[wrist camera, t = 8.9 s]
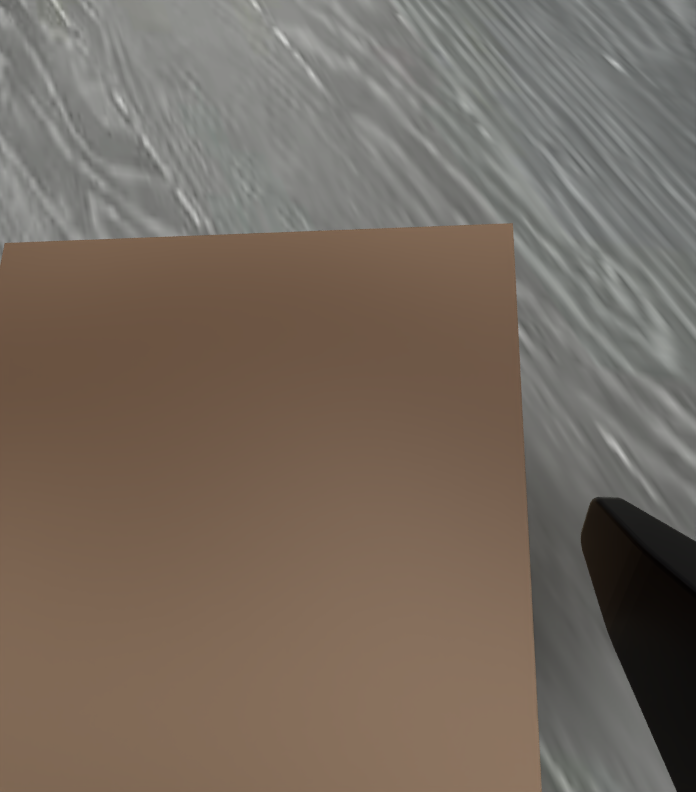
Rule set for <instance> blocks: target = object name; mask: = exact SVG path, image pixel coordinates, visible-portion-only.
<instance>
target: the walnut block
mask: <svg viewBox="0 0 696 792" xmlns="http://www.w3.org/2000/svg"><path fill="white" fill-rule="evenodd" d="M0 792H542V789H541V769H540V750H539V730H538V710H537V691H536V671H535V652H534V632H533V612H532V593H531V573H530V553H529V534H528V514H527V494H526V475H525V455H524V436H523V416H522V396H521V377H520V357H519V337H518V318H517V298H516V278H515V259H514V239H513V223H510V224H485V225H459V226H433V227H408V228H382V229H356V230H330V231H305V232H279V233H253V234H228V235H202V236H176V237H150V238H125V239H99V240H73V241H47V242H22V243H5V245H4V250H3V255H2V260H1V265H0Z"/></svg>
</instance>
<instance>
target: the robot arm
mask: <svg viewBox="0 0 696 792" xmlns="http://www.w3.org/2000/svg"><path fill="white" fill-rule="evenodd" d="M581 546H582V551H583V554H584V557H585V561H586V564H587V567H588V570H589V574H590V577H591V580H592V583H593V587H594V590H595V593H596V597H597V600H598V603H599V606H600V610H601V613H602V616H603V619H604V622H605V625H606V628H607V631H608V634H609V637H610V639H611V641H612V644H613V646H614V649H615V651H616V653H617V656H618V658H619V660H620V663H621V665H622V667H623V669H624V672H625V674H626V676H627V679H628V681H629V683H630V685H631V688H632V690H633V692H634V695H635V697H636V699H637V702H638V704H639V706H640V708H641V711H642V713H643V715H644V718H645V720H646V722H647V724H648V727H649V729H650V731H651V734H652V736H653V738H654V740H655V743H656V745H657V747H658V750H659V752H660V754H661V756H662V759H663V761H664V763H665V766H666V768H667V770H668V772H669V775H670V777H671V779H672V782H673V784H674V786H675V788H676V791H677V792H696V541H694V540H692V539H691V538H689V537H687V536H685V535H684V534H682V533H680V532H679V531H677V530H675V529H673V528H672V527H670V526H668V525H667V524H665V523H663V522H661V521H660V520H658V519H656V518H655V517H653V516H651V515H649V514H648V513H646V512H644V511H642V510H641V509H639V508H637V507H636V506H634V505H632V504H630V503H629V502H627V501H625V500H623V499H621V498H611V497H596V498H594V499H593V500H592V501H591V503H590V505H589V509H588V512H587V515H586V519H585V522H584V525H583V528H582V532H581Z"/></svg>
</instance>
